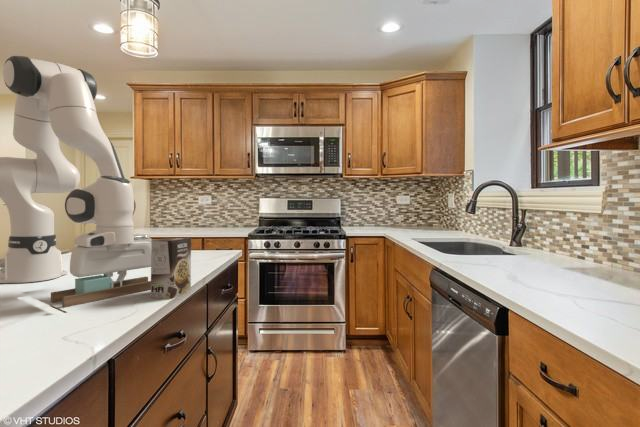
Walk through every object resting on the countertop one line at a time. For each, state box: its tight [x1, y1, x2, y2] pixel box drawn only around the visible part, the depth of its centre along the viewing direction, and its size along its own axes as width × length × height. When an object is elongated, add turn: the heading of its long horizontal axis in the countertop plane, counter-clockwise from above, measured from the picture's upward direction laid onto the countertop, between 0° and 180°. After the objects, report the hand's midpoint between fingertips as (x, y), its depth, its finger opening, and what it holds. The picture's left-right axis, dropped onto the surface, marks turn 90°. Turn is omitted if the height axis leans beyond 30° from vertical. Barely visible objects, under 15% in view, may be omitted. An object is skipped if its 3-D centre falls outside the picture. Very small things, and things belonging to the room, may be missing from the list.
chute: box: [50, 276, 151, 314], centre depth 93 cm, size 8×24×4 cm, turn 146°
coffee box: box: [150, 237, 192, 300], centre depth 95 cm, size 9×6×16 cm
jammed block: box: [74, 274, 110, 295], centre depth 90 cm, size 5×6×5 cm
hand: (115, 288), depth 94 cm, fingers closed
